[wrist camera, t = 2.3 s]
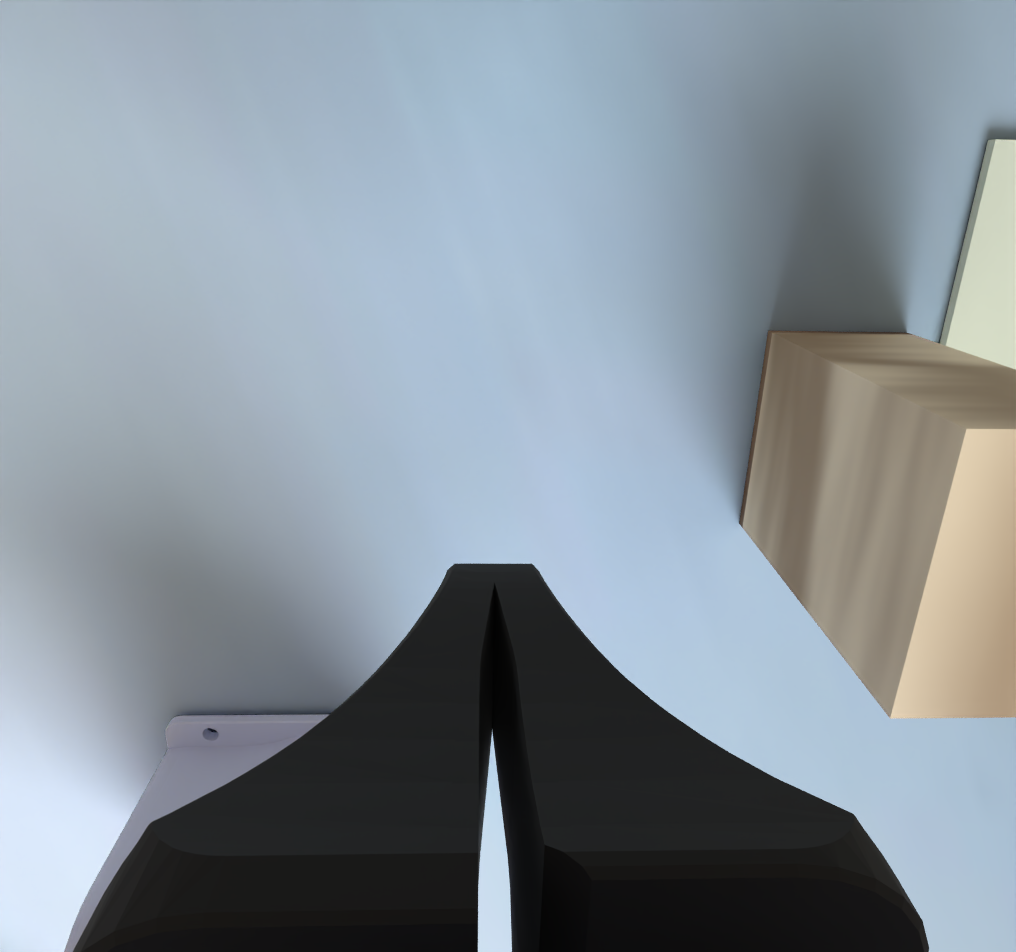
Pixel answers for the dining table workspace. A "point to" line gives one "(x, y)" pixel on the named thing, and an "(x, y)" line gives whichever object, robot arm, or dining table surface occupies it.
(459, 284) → the dining table surface
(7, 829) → the dining table surface
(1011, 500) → the birch block
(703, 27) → the dining table surface
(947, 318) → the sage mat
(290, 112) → the dining table surface
